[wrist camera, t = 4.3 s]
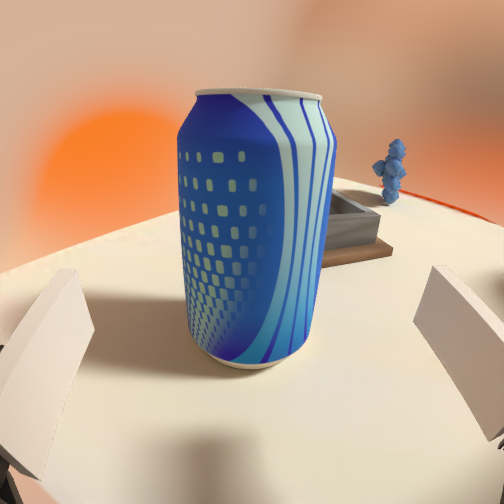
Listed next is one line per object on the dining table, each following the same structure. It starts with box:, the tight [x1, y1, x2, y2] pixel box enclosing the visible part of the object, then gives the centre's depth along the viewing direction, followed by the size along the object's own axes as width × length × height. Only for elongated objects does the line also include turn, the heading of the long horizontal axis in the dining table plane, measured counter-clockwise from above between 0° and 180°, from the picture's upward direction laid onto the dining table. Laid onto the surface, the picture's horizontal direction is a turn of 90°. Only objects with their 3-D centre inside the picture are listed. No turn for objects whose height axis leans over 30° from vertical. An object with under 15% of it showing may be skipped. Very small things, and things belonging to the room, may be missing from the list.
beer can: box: [177, 88, 337, 369], centre depth 18 cm, size 8×8×16 cm
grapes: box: [372, 139, 406, 204], centre depth 52 cm, size 12×7×12 cm, turn 154°
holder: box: [321, 189, 393, 268], centre depth 37 cm, size 16×16×4 cm
